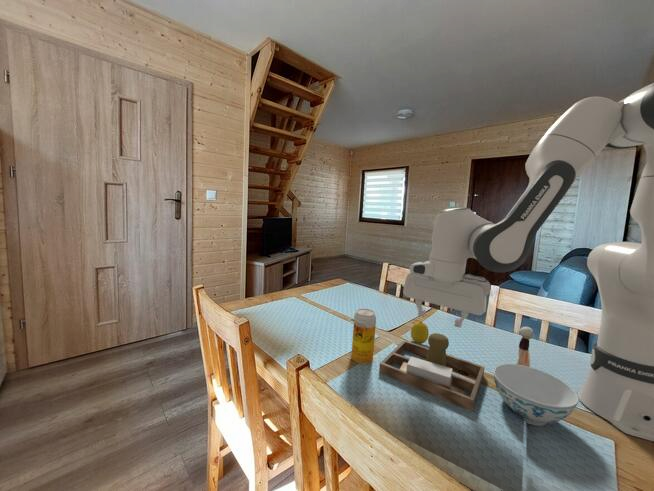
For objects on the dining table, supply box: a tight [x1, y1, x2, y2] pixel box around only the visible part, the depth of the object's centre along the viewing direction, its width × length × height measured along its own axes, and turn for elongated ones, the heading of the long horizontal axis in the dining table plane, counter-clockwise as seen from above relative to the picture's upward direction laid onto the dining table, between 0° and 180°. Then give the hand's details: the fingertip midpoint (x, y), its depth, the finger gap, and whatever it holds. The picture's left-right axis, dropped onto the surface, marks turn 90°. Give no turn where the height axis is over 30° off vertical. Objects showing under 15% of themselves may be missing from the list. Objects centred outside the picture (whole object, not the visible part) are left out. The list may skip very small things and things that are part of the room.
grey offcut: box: [406, 356, 453, 386], centre depth 70 cm, size 10×4×2 cm, turn 61°
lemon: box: [410, 320, 430, 344], centre depth 93 cm, size 6×6×8 cm
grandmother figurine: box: [516, 326, 534, 367], centre depth 81 cm, size 8×4×13 cm, turn 155°
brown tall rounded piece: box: [425, 332, 450, 367], centre depth 77 cm, size 6×6×11 cm
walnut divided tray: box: [378, 339, 486, 412], centre depth 74 cm, size 22×17×4 cm
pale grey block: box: [399, 362, 452, 389], centre depth 71 cm, size 12×4×2 cm, turn 60°
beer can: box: [350, 308, 377, 364], centre depth 80 cm, size 6×6×15 cm
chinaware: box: [493, 363, 579, 427], centre depth 63 cm, size 15×15×8 cm
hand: (439, 320), depth 75 cm, fingers open, 8 cm apart
